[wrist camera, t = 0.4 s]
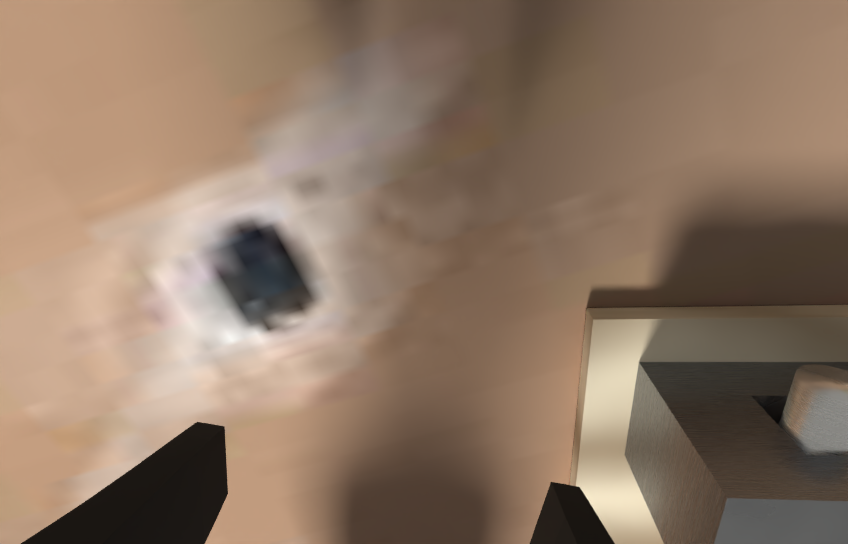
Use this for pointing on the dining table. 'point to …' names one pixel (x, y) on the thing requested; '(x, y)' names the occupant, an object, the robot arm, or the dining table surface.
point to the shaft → (818, 410)
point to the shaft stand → (706, 425)
